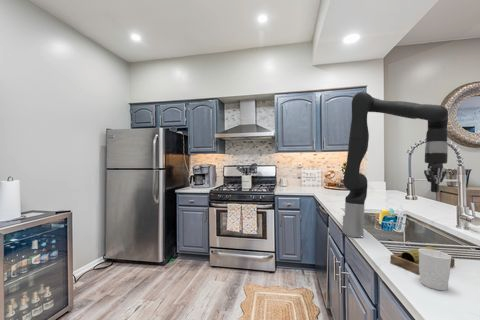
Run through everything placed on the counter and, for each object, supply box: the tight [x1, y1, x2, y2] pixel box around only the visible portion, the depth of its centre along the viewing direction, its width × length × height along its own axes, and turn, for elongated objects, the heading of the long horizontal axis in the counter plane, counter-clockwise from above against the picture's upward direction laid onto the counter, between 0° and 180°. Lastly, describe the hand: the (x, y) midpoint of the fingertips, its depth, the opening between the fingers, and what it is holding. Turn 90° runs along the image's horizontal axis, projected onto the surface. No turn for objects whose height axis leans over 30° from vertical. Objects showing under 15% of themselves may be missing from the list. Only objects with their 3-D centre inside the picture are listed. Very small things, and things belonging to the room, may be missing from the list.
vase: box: [400, 245, 439, 264], centre depth 87 cm, size 6×6×14 cm
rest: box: [389, 252, 456, 276], centre depth 87 cm, size 11×21×3 cm, turn 115°
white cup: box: [418, 248, 452, 291], centre depth 72 cm, size 8×8×10 cm
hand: (434, 192), depth 99 cm, fingers closed
